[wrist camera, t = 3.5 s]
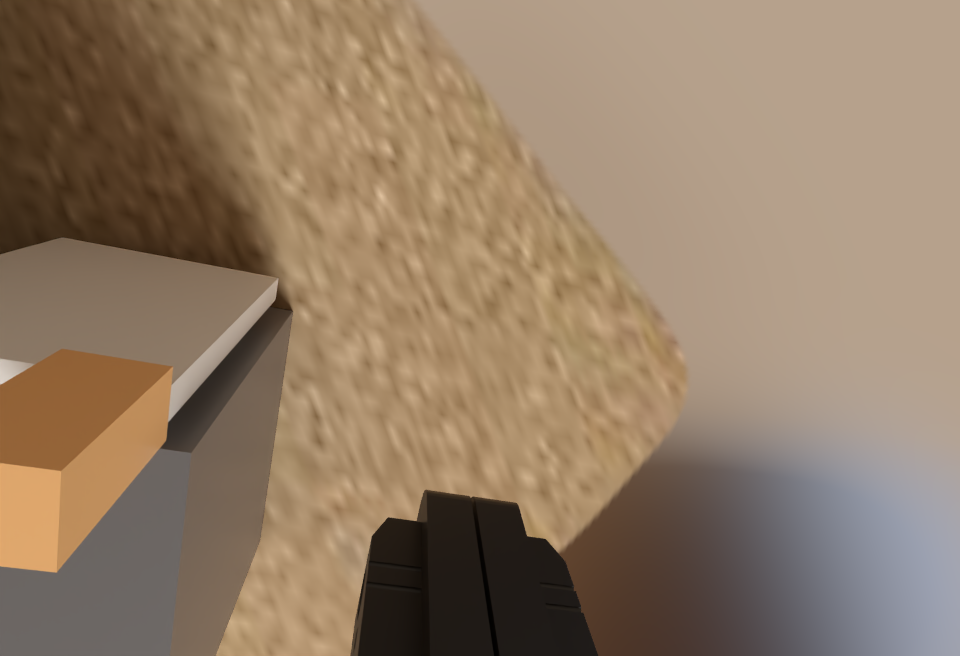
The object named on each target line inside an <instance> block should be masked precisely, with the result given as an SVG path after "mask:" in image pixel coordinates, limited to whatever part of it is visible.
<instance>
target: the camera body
mask: <svg viewBox="0 0 960 656" xmlns="http://www.w3.org/2000/svg"><path fill="white" fill-rule="evenodd" d="M292 315H293V311H290V310H284V309H278V308H273V307H269V308H268V309H267V310H266V311H265V312H264V314H263V315H262V316H261V317H260V318H259V319H258V320H257V322H256V323H255V324H254V325H253V326H252V327H251V328H250V329H249V331H248V332H247V333H246V334H245V335H244V336H243V337H242V339H241V340H240V341H239V342H238V343H237V344H236V345H235V347H234V348H233V349H232V350H231V351H230V352H229V353H228V355H227V356H226V357H225V358H224V359H223V360H222V361H221V363H220V364H219V365H218V366H217V367H216V368H215V369H214V371H213V372H212V373H211V374H210V375H209V376H208V377H207V379H206V380H205V381H204V382H203V383H202V384H201V385H200V386H199V388H198V389H197V390H196V391H195V392H194V393H193V394H192V396H191V397H190V398H189V399H188V400H187V401H186V402H185V404H184V405H183V406H182V407H181V408H180V409H179V410H178V412H177V413H176V414H175V415H174V416H173V417H172V418H171V420H170V421H169V422H168V427H167V438H166V441H165V443H164V444H163V445H162V446H161V447H160V449H159V450H158V451H157V452H156V453H155V455H154V456H153V457H152V458H151V459H150V461H149V462H148V463H147V464H146V465H145V467H144V468H143V469H142V470H141V472H140V473H139V474H138V475H137V476H136V478H135V479H134V480H133V481H132V482H131V484H130V485H129V486H128V487H127V488H126V490H125V491H124V492H123V493H122V494H121V496H120V497H119V498H118V499H117V500H116V502H115V503H114V504H113V505H112V506H111V508H110V509H109V510H108V511H107V512H106V514H105V515H104V516H103V517H102V518H101V520H100V521H99V522H98V523H97V525H96V526H95V527H94V528H93V529H92V531H91V532H90V533H89V534H88V535H87V537H86V538H85V539H84V540H83V541H82V543H81V544H80V545H79V546H78V547H77V549H76V550H75V551H74V552H73V553H72V555H71V556H70V557H69V558H68V559H67V561H66V562H65V563H64V564H63V565H62V567H61V568H60V569H59V570H58V571H57V573H56V572H47V571H37V570H28V569H19V568H10V567H1V566H0V656H215V655H216V653H217V650H218V648H219V645H220V643H221V640H222V637H223V635H224V632H225V630H226V627H227V625H228V622H229V619H230V617H231V614H232V612H233V609H234V607H235V604H236V601H237V599H238V596H239V594H240V591H241V588H242V586H243V583H244V581H245V578H246V576H247V573H248V570H249V568H250V565H251V563H252V560H253V558H254V555H255V552H256V550H257V547H258V545H259V542H260V537H261V530H262V523H263V516H264V509H265V502H266V495H267V488H268V481H269V474H270V467H271V461H272V454H273V447H274V440H275V433H276V426H277V419H278V412H279V405H280V398H281V391H282V384H283V377H284V370H285V363H286V357H287V350H288V343H289V336H290V329H291V322H292Z"/></svg>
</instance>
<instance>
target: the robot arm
mask: <svg viewBox="0 0 960 656" xmlns="http://www.w3.org/2000/svg"><path fill="white" fill-rule="evenodd" d="M351 656H598V654H597V651H596V648H595V645H594V642H593V639H592V637H591V634H590V631H589V628H588V625H587V622H586V620H585V617H584V614H583V613H581V605H580V602H579V599H578V597H577V594H576V591H574V585H573V582H572V580H571V577H570V574H569V571H568V568H567V565H566V563H565V561H564V560H563V558H562V557H561V556H560V555H559V554H558V553H557V552H556V550H555V549H554V548H553V547H552V546H551V545H550V544H549V542H548V541H547V540H546V539H542V538H535V537H527V535H526V531H525V528H524V524H523V520H522V517H521V513H520V509H519V506H518V504H517V503H513V502H506V501H499V500H493V499H486V498H479V497H472V498H470V496H464V495H457V494H450V493H444V492H437V491H430V490H425V491H424V493H423V497H422V500H421V504H420V509H419V513H418V518H417V521H410V520H403V519H396V518H389V517H388V518H387V519H386V520H385V522H384V523H383V524H382V525H381V526H380V527H379V529H378V530H377V531H376V532H375V533H374V534H373V536H372V539H371V544H370V549H369V554H368V559H367V564H366V569H365V574H364V579H363V584H362V589H361V594H360V599H359V604H358V609H357V614H356V619H355V626H354V633H353V641H352V649H351Z"/></svg>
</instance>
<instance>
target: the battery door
mask: <svg viewBox="0 0 960 656" xmlns="http://www.w3.org/2000/svg"><path fill="white" fill-rule="evenodd" d="M277 286H278V278H277V277H271V276H266V275H261V274H255V273H250V272H245V271H239V270H234V269H229V268H223V267H218V266H213V265H207V264H202V263H197V262H191V261H186V260H181V259H175V258H170V257H165V256H159V255H154V254H149V253H143V252H138V251H133V250H127V249H122V248H117V247H111V246H106V245H101V244H95V243H90V242H85V241H79V240H74V239H69V238H63V237H62V238H58V239H54V240H51V241H47V242H43V243H40V244H36V245H32V246H29V247H25V248H21V249H18V250H14V251H10V252H7V253H3V254H0V566H1V567H10V568H19V569H28V570H37V571H47V572H56V573H57V571H58V570H59V569H60V568H61V567H62V565H63V564H64V563H65V562H66V561H67V559H68V558H69V557H70V556H71V555H72V553H73V552H74V551H75V550H76V549H77V547H78V546H79V545H80V544H81V543H82V541H83V540H84V539H85V538H86V537H87V535H88V534H89V533H90V532H91V531H92V529H93V528H94V527H95V526H96V525H97V523H98V522H99V521H100V520H101V518H102V517H103V516H104V515H105V514H106V512H107V511H108V510H109V509H110V508H111V506H112V505H113V504H114V503H115V502H116V500H117V499H118V498H119V497H120V496H121V494H122V493H123V492H124V491H125V490H126V488H127V487H128V486H129V485H130V484H131V482H132V481H133V480H134V479H135V478H136V476H137V475H138V474H139V473H140V472H141V470H142V469H143V468H144V467H145V465H146V464H147V463H148V462H149V461H150V459H151V458H152V457H153V456H154V455H155V453H156V452H157V451H158V450H159V449H160V447H161V446H162V445H163V444H164V443H165V441H166V438H167V427H168V422H169V421H170V420H171V418H172V417H173V416H174V415H175V414H176V413H177V412H178V410H179V409H180V408H181V407H182V406H183V405H184V404H185V402H186V401H187V400H188V399H189V398H190V397H191V396H192V394H193V393H194V392H195V391H196V390H197V389H198V388H199V386H200V385H201V384H202V383H203V382H204V381H205V380H206V379H207V377H208V376H209V375H210V374H211V373H212V372H213V371H214V369H215V368H216V367H217V366H218V365H219V364H220V363H221V361H222V360H223V359H224V358H225V357H226V356H227V355H228V353H229V352H230V351H231V350H232V349H233V348H234V347H235V345H236V344H237V343H238V342H239V341H240V340H241V339H242V337H243V336H244V335H245V334H246V333H247V332H248V331H249V329H250V328H251V327H252V326H253V325H254V324H255V323H256V322H257V320H258V319H259V318H260V317H261V316H262V315H263V314H264V312H265V311H266V310H267V309H268V308H269V307H270V306H271V304H272V303H273V302H274V301H275V300H276V293H277Z"/></svg>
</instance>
